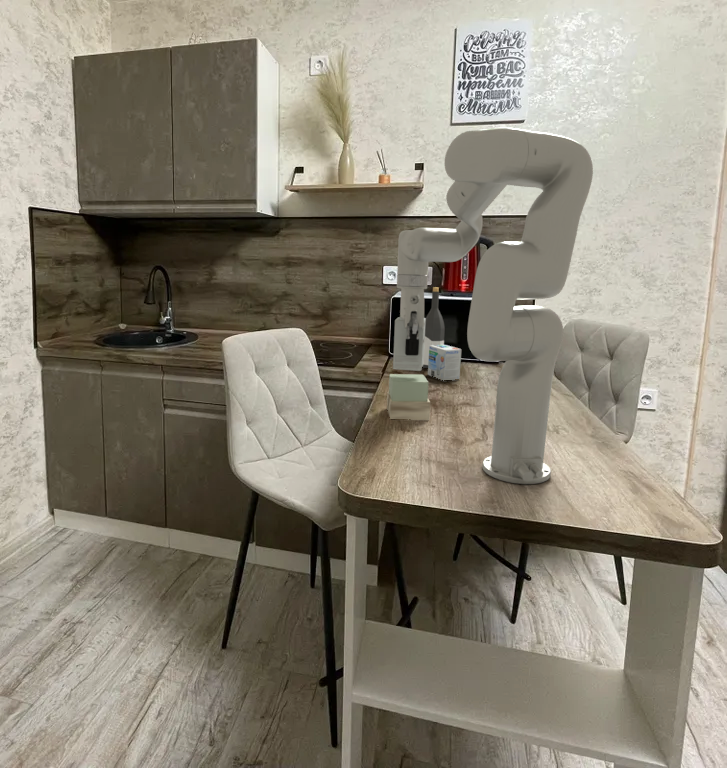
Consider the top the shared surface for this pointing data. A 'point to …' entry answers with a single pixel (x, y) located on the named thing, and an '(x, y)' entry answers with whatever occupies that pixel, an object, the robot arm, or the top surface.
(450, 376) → the light bulb box
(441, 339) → the wine bottle
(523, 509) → the top surface
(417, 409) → the tower base
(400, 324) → the supplement box
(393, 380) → the tower top
